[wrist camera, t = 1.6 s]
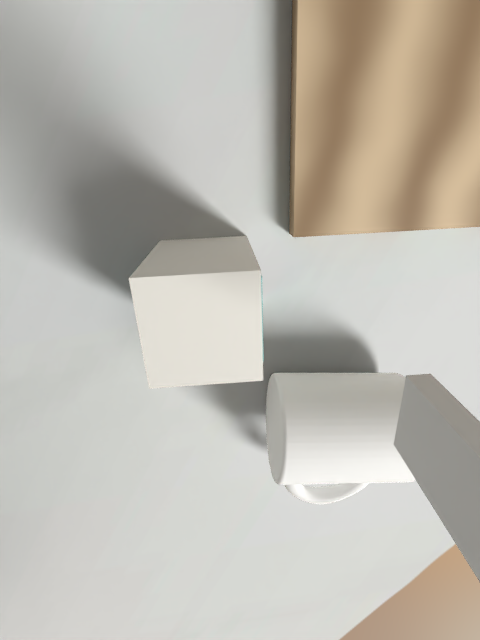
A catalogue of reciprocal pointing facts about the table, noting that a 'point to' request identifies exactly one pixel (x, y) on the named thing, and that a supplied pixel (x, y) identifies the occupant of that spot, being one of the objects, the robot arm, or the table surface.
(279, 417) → the mug
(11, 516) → the table surface
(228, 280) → the carton
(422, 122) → the shelf board
